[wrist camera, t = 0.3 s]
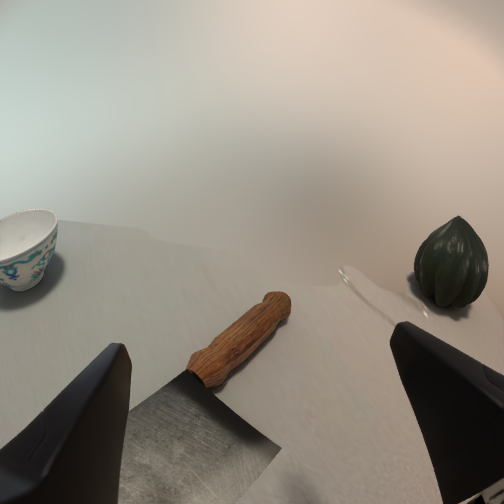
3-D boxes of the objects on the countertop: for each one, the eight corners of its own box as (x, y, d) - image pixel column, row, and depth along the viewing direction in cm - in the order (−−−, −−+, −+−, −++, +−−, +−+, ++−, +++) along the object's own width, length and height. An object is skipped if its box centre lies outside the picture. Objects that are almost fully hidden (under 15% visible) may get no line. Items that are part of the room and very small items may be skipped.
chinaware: (7, 328, 21) (-18, 277, 18) (-20, 281, 26) (-36, 239, 22) (85, 272, 34) (75, 223, 30) (42, 242, 38) (34, 202, 34)
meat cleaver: (131, 586, 4) (115, 595, 2) (34, 483, 9) (8, 469, 7) (345, 348, 29) (358, 324, 27) (265, 306, 34) (271, 280, 32)
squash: (502, 306, 29) (498, 219, 32) (447, 307, 29) (443, 202, 32) (454, 309, 43) (453, 237, 46) (398, 308, 43) (399, 227, 46)
